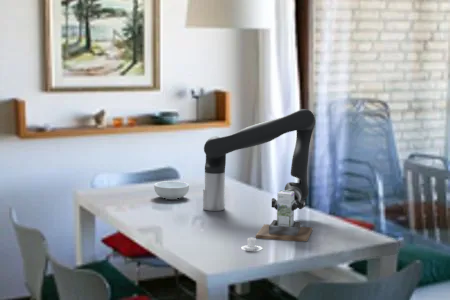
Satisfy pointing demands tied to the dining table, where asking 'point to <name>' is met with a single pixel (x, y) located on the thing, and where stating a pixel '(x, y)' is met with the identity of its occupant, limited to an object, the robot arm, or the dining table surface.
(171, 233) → the dining table surface
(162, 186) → the cereal bowl
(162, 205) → the dining table surface
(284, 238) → the collar board
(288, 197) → the syrup box
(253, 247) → the teacup and saucer
